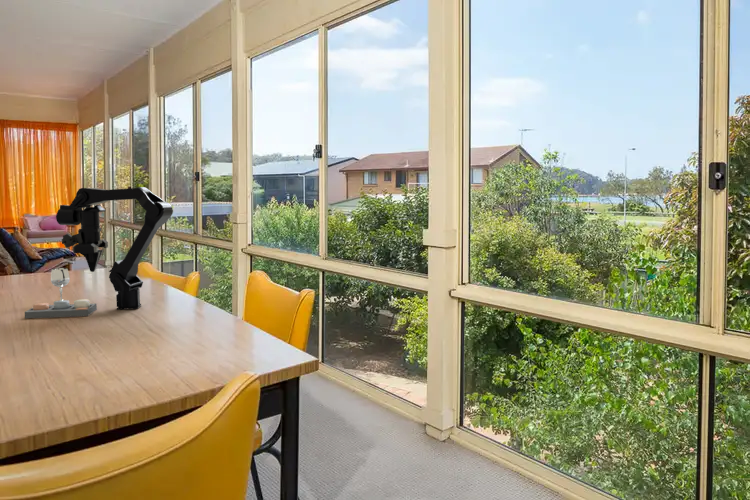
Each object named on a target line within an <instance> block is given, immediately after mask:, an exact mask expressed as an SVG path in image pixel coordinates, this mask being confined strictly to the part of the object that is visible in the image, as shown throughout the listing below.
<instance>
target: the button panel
mask: <svg viewBox="0 0 750 500" xmlns="http://www.w3.org/2000/svg"><path fill="white" fill-rule="evenodd" d="M69 305H70V308H68V309H54V304H49V309H47V310H33V307H31V308H29V309H28V310H26V311H24V319H40V318H41V319H44V318H45V319H47V318H68V317H69V318H71V317H75V318H76V317H89V316H90V315H91V314H93V313H94V312H96V311H97V303H90V307H89V308H88V307H86V308H77V309H74V303H73V304H70V303H69Z"/></svg>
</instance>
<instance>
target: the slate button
mask: <svg viewBox="0 0 750 500" xmlns="http://www.w3.org/2000/svg"><path fill="white" fill-rule="evenodd" d="M69 304H70V300H69V299H63V300H60V299H59V300H55V301H53V305H54V309H68V308H70V305H69Z"/></svg>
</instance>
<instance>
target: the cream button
mask: <svg viewBox="0 0 750 500" xmlns="http://www.w3.org/2000/svg"><path fill="white" fill-rule="evenodd" d="M90 302H91V301H90V299H76V300H74V302H73V304H74V309H77V308H86V307H88V308H89V307H90V304H91V303H90Z"/></svg>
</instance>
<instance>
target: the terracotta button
mask: <svg viewBox="0 0 750 500" xmlns="http://www.w3.org/2000/svg"><path fill="white" fill-rule="evenodd" d="M49 305H50V303H48V302H39V303H34V304H32V308H33V310H47V309H49Z"/></svg>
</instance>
